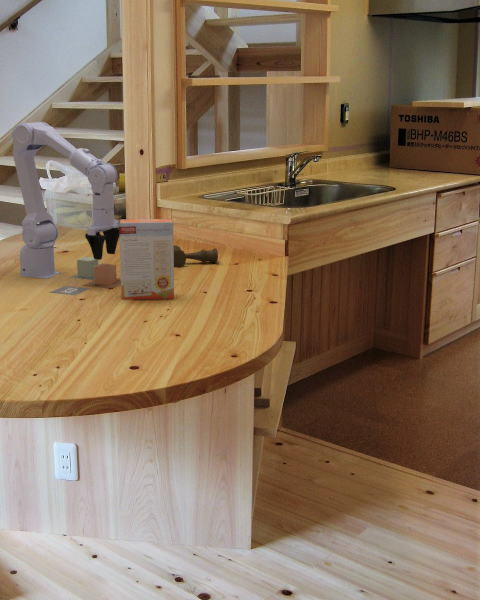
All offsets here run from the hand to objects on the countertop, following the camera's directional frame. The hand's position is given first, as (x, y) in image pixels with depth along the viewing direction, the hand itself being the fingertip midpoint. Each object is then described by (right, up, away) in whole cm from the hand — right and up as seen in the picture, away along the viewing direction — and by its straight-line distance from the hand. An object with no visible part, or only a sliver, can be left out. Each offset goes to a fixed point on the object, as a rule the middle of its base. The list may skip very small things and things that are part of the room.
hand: (104, 256), depth 222 cm
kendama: (+21, -1, +30) cm, 36 cm away
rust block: (0, -7, +2) cm, 8 cm away
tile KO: (-8, -10, -6) cm, 15 cm away
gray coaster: (-7, -5, +10) cm, 13 cm away
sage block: (-7, -5, +10) cm, 13 cm away
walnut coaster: (0, -8, +2) cm, 8 cm away
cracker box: (+13, -12, -11) cm, 21 cm away
